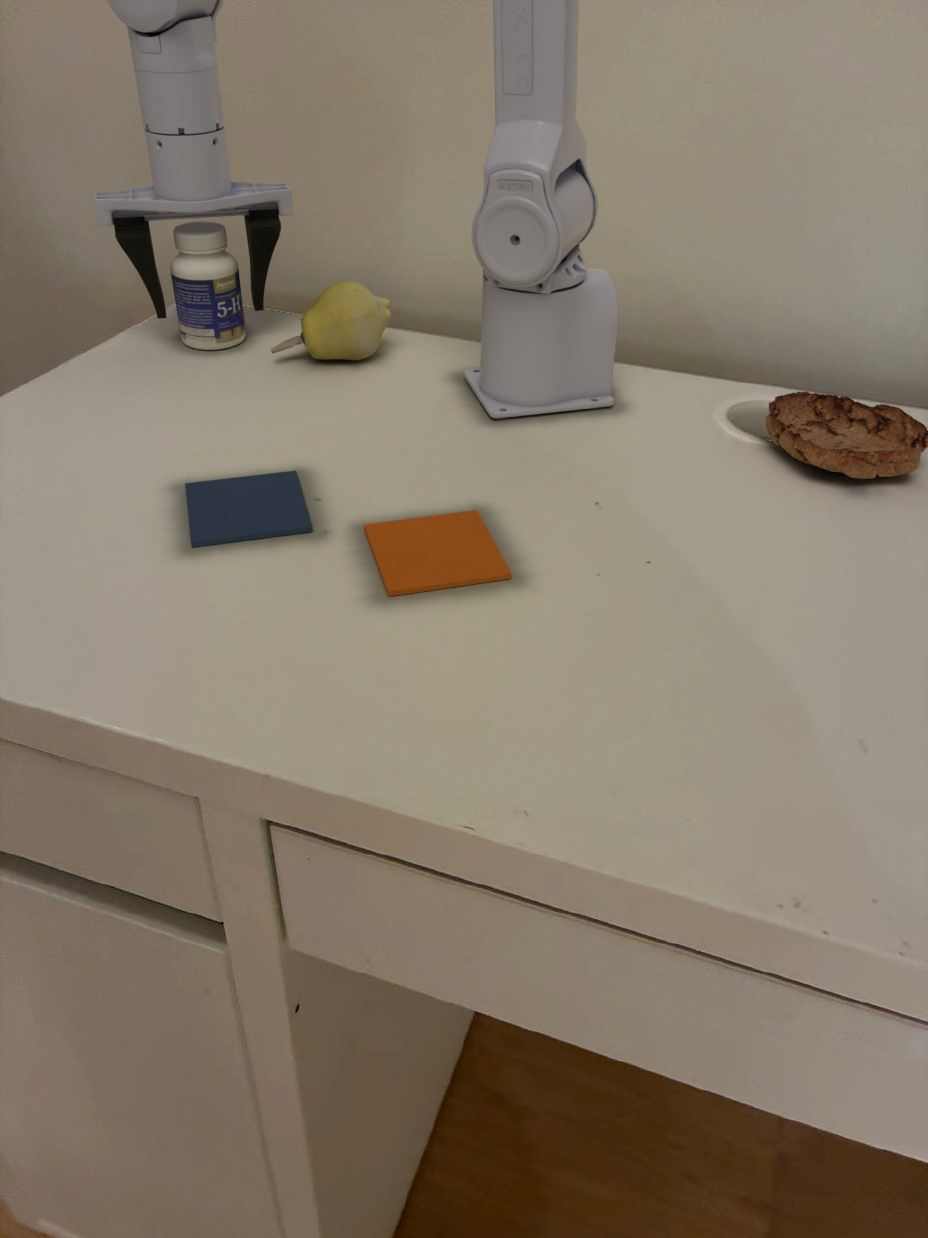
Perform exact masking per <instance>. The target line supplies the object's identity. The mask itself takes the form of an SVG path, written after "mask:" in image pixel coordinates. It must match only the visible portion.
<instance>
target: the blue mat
mask: <svg viewBox="0 0 928 1238" xmlns="http://www.w3.org/2000/svg"><path fill="white" fill-rule="evenodd" d="M184 486H185V487H184V488H185V496H186V497H185V498H186V507H187V517H188V526H189V527H188V528H189V537H190V545H191V548H197V547H205V546H206V547H207V546H212V545H213V546H214V545H219V544H221V545H222V544H228V543H236V542H245V541H251V540H258V539H260V540H261V539H266V538H274V537H282V536H290V535H291V536H292V535H297V534H306V533H312V532H313V525H312V522H311V517H310V514H309V511H308V507H307V504H306V500H305V497H304V493H303V489H302V486H301V482H300V479H299V476H298V471H297V470H289V471H281V472H271V473H262V474H252V475H246V476H237V477H227V478H217V479H210V480H201V481H193V482H192V481H191V482H185V483H184Z"/></svg>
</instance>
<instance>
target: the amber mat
mask: <svg viewBox="0 0 928 1238" xmlns="http://www.w3.org/2000/svg"><path fill="white" fill-rule="evenodd" d="M363 530H364V533H365V536H366V538H367V542H368V544H369V547H370V550H371V552H372V555H373V558H374V560H375V564H376V566H377V569H378V572H379V575H380V578H381V580H382V583H383V585H384V588H385V592H386V594H387V597H395V596H403V595H408V594H416V593H422V592H423V593H424V592H430V591H436V590H445V589H449V588H457V587H464V586H470V585H471V586H473V585H479V584H486V583H490V582H498V581H504V580H505V581H506V580H511V579H512V572H511V570H510V568H509V566H508V565H507V563H506V560H505V559H504V557H503V554H502V553H501V552H500V549H499V548H498V546H497V544H496V543H495V541H494V538H493V537H492V535H491V533H490V531H489V529H488V528H487V526H486V523H485V521H484V520H483V518H482V517H481V515H480V513H479V511H478V510H477V509H474V510H466V511H458V512H451V513H443V514H435V515H427V516H420V517H411V518H405V519H396V520H388V521H380V522H371V523H365V524H363Z"/></svg>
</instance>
